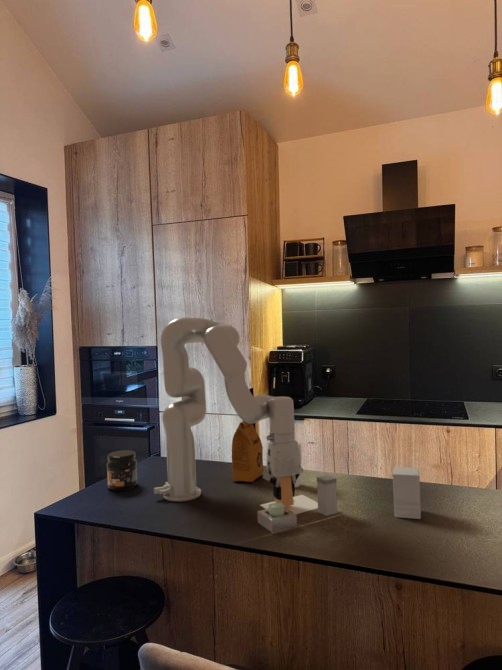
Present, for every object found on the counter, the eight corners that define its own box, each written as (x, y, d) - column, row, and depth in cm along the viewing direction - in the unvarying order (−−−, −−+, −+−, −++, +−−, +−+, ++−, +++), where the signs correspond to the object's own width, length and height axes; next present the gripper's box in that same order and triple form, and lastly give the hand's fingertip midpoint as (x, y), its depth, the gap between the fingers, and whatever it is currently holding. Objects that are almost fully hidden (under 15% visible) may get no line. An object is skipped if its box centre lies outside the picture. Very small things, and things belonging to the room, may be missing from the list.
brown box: (282, 507, 142) (278, 471, 144) (275, 505, 146) (272, 469, 147) (294, 504, 144) (290, 469, 146) (286, 502, 148) (283, 467, 149)
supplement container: (101, 489, 169) (99, 456, 168) (120, 480, 178) (118, 448, 178) (125, 493, 165) (124, 458, 164) (143, 483, 174) (142, 450, 174)
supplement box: (420, 510, 141) (419, 467, 141) (421, 520, 134) (419, 475, 134) (394, 507, 143) (393, 466, 143) (393, 517, 136) (392, 473, 136)
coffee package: (268, 475, 179) (266, 417, 179) (252, 485, 168) (250, 423, 168) (244, 472, 184) (242, 415, 183) (228, 482, 173) (226, 421, 172)
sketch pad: (280, 519, 138) (280, 517, 138) (259, 506, 148) (259, 504, 148) (324, 507, 145) (324, 506, 145) (302, 495, 156) (302, 494, 156)
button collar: (272, 533, 128) (271, 520, 128) (257, 523, 135) (257, 511, 135) (296, 526, 132) (296, 514, 132) (281, 517, 139) (281, 505, 139)
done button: (274, 522, 131) (273, 509, 130) (266, 517, 134) (265, 504, 134) (287, 518, 133) (287, 506, 133) (279, 513, 136) (278, 501, 136)
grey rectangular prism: (326, 517, 138) (325, 480, 138) (317, 512, 142) (316, 477, 141) (337, 514, 140) (336, 478, 140) (328, 509, 144) (327, 474, 143)
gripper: (264, 443, 138) (266, 506, 138) (312, 436, 146) (313, 495, 146) (252, 439, 144) (254, 498, 145) (298, 431, 152) (300, 488, 153)
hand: (284, 496), depth 145 cm, fingers closed on brown box, 4 cm apart
